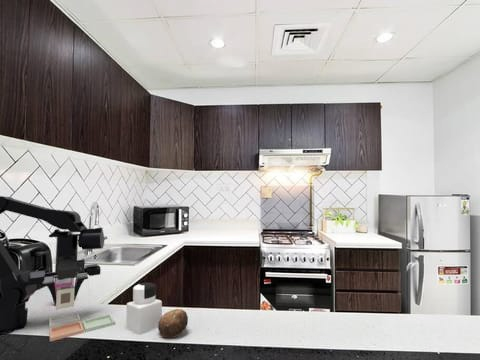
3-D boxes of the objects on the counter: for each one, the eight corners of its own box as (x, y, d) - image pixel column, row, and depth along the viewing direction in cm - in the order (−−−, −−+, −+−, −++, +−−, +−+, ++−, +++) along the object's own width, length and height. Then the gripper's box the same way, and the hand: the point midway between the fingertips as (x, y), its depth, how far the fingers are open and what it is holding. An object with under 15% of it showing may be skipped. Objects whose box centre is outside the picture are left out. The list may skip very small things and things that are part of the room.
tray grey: (49, 330, 76) (49, 325, 76) (49, 321, 82) (49, 317, 82) (80, 322, 81) (80, 318, 81) (77, 315, 87) (77, 311, 87)
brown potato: (182, 311, 78) (176, 298, 75) (197, 329, 72) (191, 315, 69) (158, 331, 74) (150, 318, 71) (171, 352, 68) (164, 339, 65)
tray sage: (85, 333, 73) (85, 329, 73) (82, 324, 79) (82, 320, 79) (115, 325, 77) (115, 321, 77) (110, 318, 83) (110, 314, 83)
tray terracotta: (49, 343, 68) (49, 338, 68) (49, 332, 74) (49, 328, 74) (83, 334, 73) (83, 329, 73) (80, 325, 79) (80, 320, 79)
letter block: (56, 310, 79) (57, 290, 79) (55, 305, 82) (56, 287, 83) (73, 306, 81) (74, 287, 82) (72, 302, 85) (73, 284, 86)
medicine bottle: (148, 320, 80) (148, 279, 82) (162, 326, 76) (162, 283, 77) (125, 329, 75) (126, 285, 76) (139, 336, 70) (139, 289, 72)
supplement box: (56, 301, 102) (57, 271, 103) (74, 299, 104) (75, 269, 105) (53, 306, 96) (54, 273, 98) (72, 303, 99) (73, 271, 100)
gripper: (28, 257, 72) (24, 318, 70) (104, 249, 83) (102, 301, 81) (30, 253, 81) (26, 306, 79) (98, 246, 92) (97, 293, 90)
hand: (64, 302), depth 82 cm, fingers closed on letter block, 4 cm apart
